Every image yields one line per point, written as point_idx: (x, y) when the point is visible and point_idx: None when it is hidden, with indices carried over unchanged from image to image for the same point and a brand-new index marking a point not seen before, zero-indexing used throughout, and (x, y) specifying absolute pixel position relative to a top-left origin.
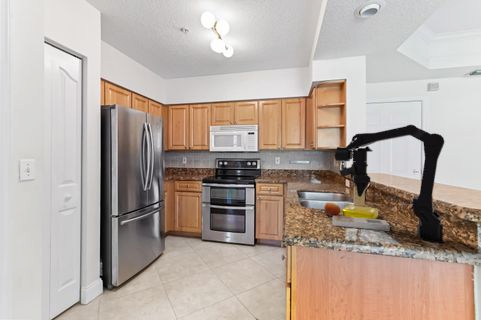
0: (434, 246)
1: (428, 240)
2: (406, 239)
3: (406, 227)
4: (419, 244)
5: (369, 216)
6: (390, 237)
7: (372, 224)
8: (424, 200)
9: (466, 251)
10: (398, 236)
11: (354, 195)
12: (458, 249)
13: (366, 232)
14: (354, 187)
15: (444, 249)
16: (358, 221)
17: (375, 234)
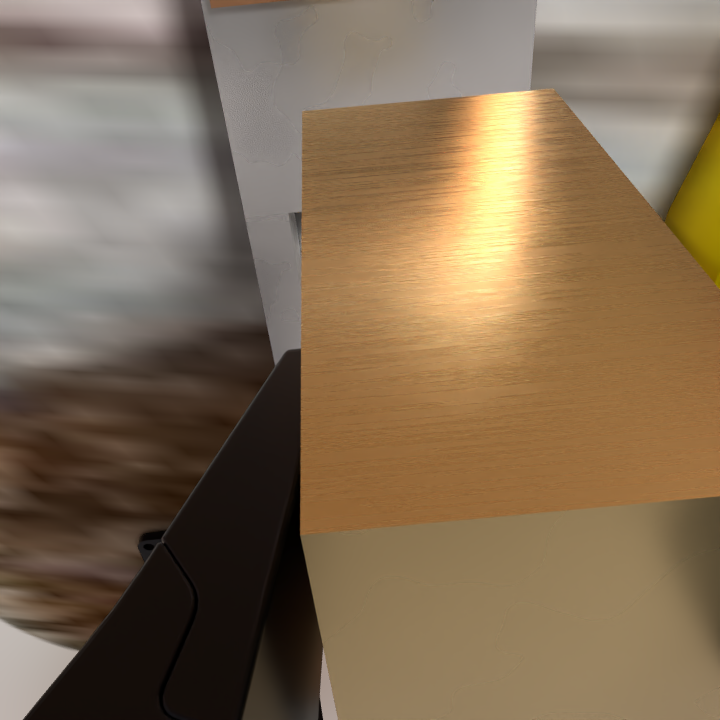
0: (43, 560)
1: (146, 556)
2: (89, 453)
3: None
4: (15, 504)
5: (702, 241)
6: (53, 359)
7: (256, 256)
8: None
9: (71, 646)
10: (142, 414)
11: (351, 247)
12: (82, 629)
13: (68, 150)
14: (479, 497)
15: (19, 587)
16: (278, 79)
17: (56, 242)
